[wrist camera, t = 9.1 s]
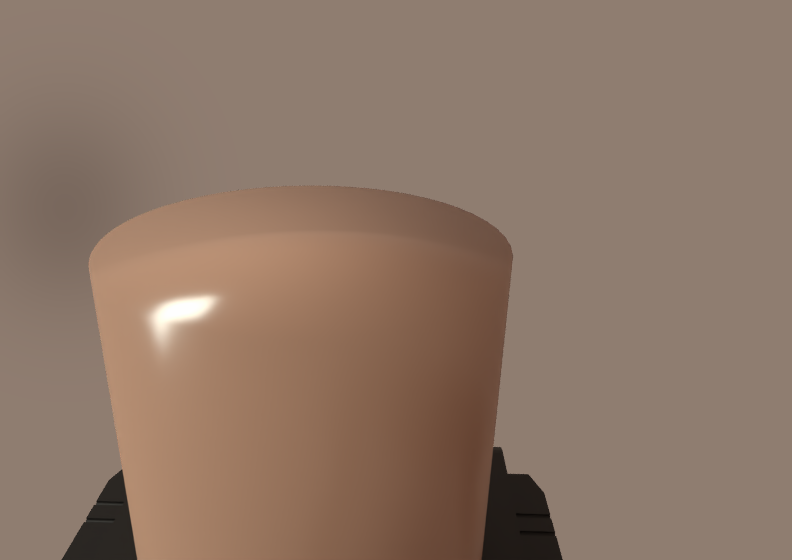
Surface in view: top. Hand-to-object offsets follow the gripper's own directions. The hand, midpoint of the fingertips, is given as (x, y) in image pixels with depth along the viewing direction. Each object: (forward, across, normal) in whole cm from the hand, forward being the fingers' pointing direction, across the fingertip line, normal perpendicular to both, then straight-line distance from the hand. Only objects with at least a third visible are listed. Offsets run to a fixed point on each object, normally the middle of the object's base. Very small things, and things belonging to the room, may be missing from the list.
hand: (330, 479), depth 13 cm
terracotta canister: (-3, 0, +8) cm, 8 cm away
